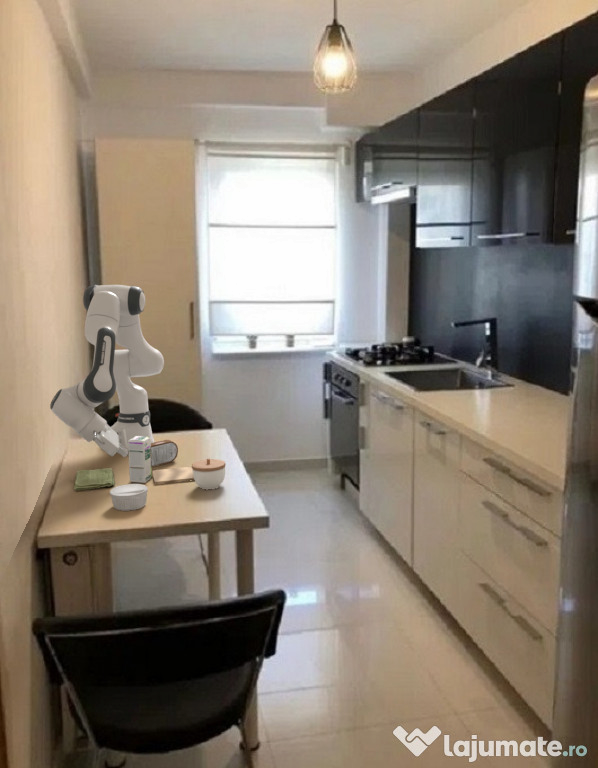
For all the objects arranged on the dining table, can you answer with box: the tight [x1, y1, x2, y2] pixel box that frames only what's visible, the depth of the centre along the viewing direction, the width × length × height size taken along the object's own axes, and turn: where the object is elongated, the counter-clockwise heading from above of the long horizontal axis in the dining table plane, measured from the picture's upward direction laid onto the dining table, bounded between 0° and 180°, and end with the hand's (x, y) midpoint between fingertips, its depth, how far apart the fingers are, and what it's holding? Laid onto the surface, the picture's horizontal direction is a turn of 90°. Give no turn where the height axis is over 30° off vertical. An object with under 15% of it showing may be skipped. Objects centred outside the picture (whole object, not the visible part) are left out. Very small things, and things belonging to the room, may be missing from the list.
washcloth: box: [73, 467, 116, 492], centre depth 241 cm, size 13×18×3 cm
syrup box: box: [128, 436, 153, 484], centre depth 240 cm, size 6×6×14 cm
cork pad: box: [152, 465, 194, 486], centre depth 244 cm, size 14×14×1 cm
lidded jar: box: [191, 457, 226, 491], centre depth 231 cm, size 11×11×9 cm
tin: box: [151, 439, 179, 468], centre depth 259 cm, size 15×3×8 cm, turn 134°
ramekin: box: [109, 483, 149, 512], centre depth 215 cm, size 11×11×5 cm
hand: (126, 454), depth 238 cm, fingers closed
